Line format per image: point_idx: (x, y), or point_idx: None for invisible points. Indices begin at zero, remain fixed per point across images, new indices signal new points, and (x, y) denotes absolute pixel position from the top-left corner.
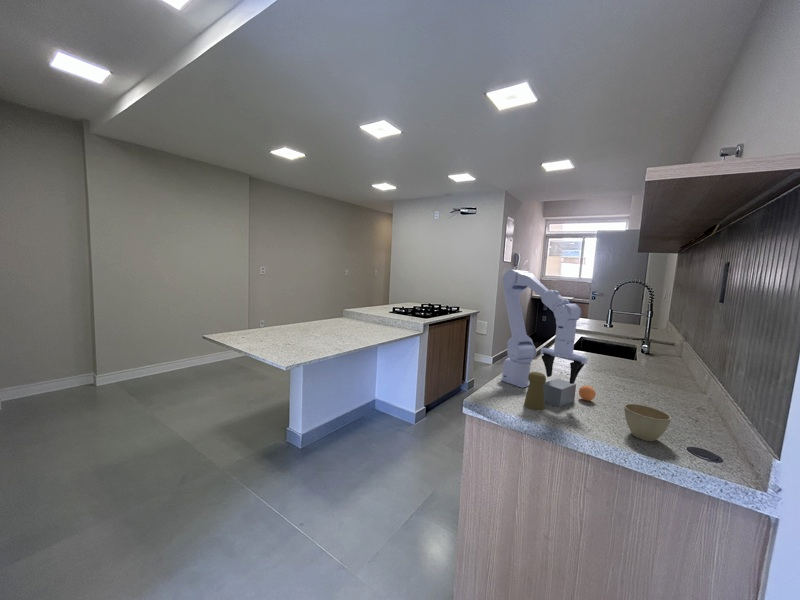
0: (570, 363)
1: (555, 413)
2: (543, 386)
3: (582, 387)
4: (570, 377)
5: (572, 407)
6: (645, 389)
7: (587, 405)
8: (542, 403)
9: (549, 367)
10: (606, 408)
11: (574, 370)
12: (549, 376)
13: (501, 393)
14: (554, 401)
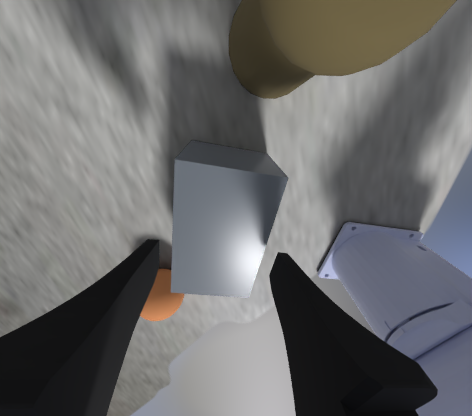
0: (36, 390)
1: (175, 44)
2: (277, 170)
3: (167, 302)
4: (139, 261)
5: (163, 184)
6: (124, 397)
7: (144, 240)
8: (236, 19)
9: (297, 305)
10: (102, 259)
11: (62, 309)
12: (275, 261)
13: (423, 93)
14: (213, 147)
